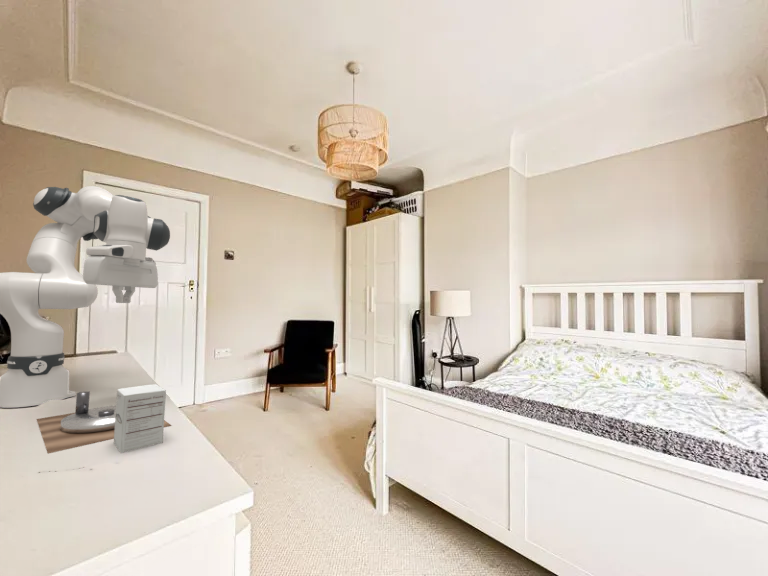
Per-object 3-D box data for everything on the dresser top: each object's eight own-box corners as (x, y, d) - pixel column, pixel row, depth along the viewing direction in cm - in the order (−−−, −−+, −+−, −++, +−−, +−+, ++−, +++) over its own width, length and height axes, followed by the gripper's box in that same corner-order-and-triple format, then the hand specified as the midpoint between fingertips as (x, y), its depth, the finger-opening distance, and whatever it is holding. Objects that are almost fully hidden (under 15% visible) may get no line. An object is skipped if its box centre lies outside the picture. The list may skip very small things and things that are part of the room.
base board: (35, 425, 82) (36, 418, 82) (138, 407, 98) (139, 401, 98) (47, 461, 64) (47, 452, 64) (171, 431, 80) (171, 424, 80)
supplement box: (112, 449, 69) (116, 388, 70) (154, 440, 75) (157, 383, 76) (118, 461, 64) (123, 395, 65) (163, 450, 70) (167, 389, 71)
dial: (169, 412, 88) (171, 387, 89) (116, 435, 72) (118, 405, 73) (105, 409, 90) (107, 384, 90) (39, 430, 74) (42, 401, 74)
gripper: (146, 258, 104) (143, 302, 103) (79, 247, 83) (75, 302, 83) (165, 258, 103) (162, 303, 102) (102, 247, 83) (98, 303, 82)
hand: (123, 303), depth 92 cm, fingers closed
